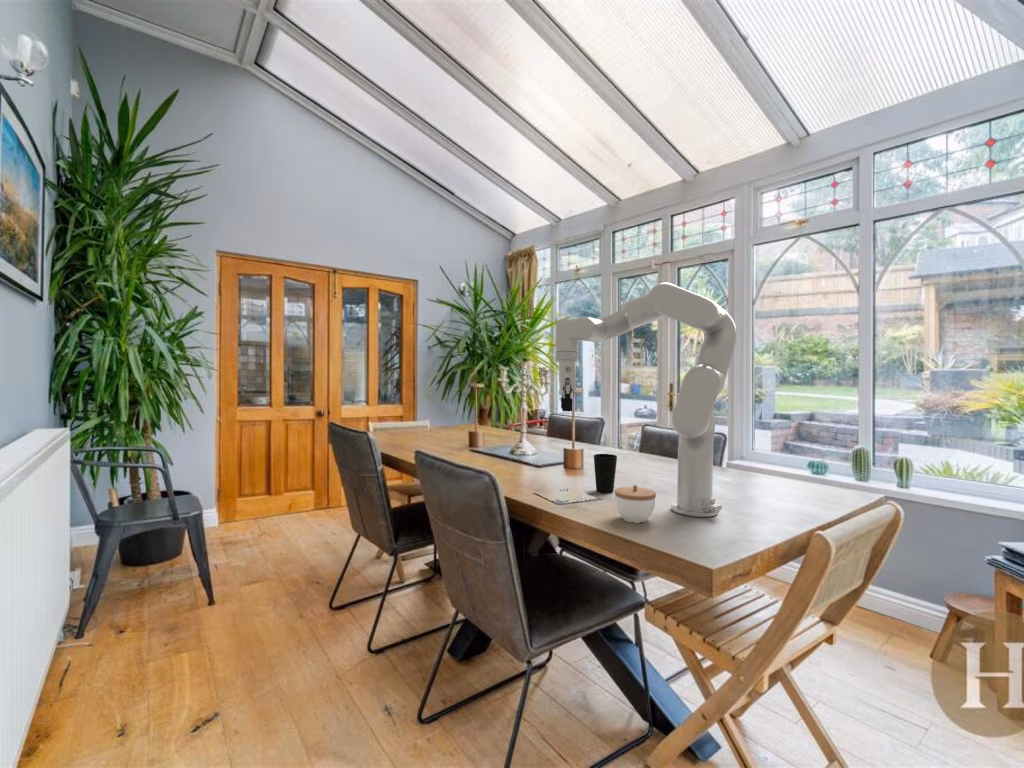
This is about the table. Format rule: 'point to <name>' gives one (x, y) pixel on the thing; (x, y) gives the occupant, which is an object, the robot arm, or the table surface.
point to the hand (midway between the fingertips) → (566, 409)
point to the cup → (605, 472)
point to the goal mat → (562, 499)
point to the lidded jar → (635, 503)
